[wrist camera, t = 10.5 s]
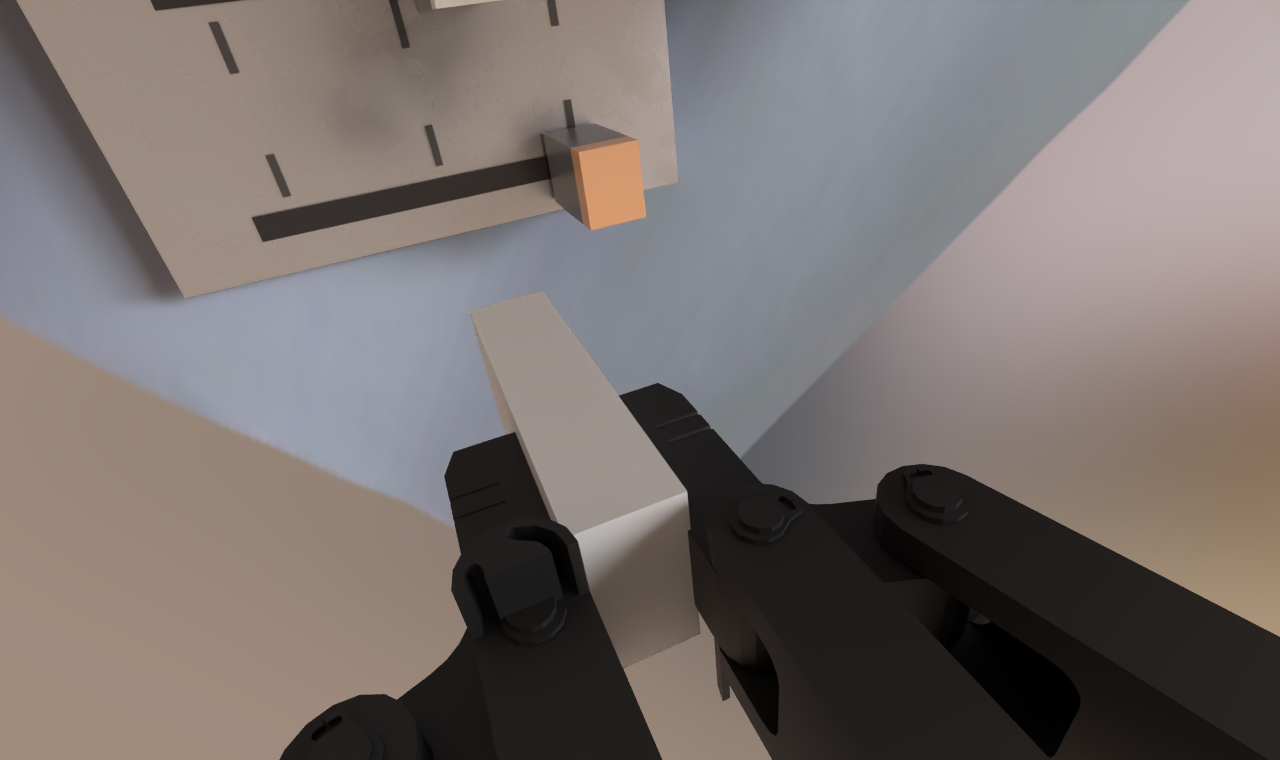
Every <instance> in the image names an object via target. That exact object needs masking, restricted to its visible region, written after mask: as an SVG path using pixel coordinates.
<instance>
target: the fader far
mask: <svg viewBox="0 0 1280 760" xmlns="http://www.w3.org/2000/svg"><path fill="white" fill-rule="evenodd" d="M543 137H544V143H545V148H546V153H547V159H548V164H549V169H550V175H551V180H552V185H553V191H554V196H555V201H556V202H557V203H558V204H559V205H560V206H561V207H563V208H564V209H565V210H566V211H568V212H569V213H570V214H571V215H572V216H574V217H575V218H576V219H577V220H579V221H580V222H581V223H582V224H583V225H585V226H586V227H587V228H588V229H590V230H591V231H592V230H596V229H600V228H604V227H608V226H612V225H616V224H620V223H624V222H628V221H632V220H636V219H640V218H644V217H646V210H645V201H644V192H643V183H642V173H641V164H640V155H639V146H638V140H637V139H634V138H632V137H629V136H627V135H624V134H621V133H619V132H616V131H613V130H611V129H608V128H606V127H603V126H600V125H598V124H595V123H592V124H587V125H582V126H577V127H572V128H567V129H562V130H557V131H552V132H547V133H543Z"/></svg>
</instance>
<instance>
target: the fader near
mask: <svg viewBox="0 0 1280 760" xmlns="http://www.w3.org/2000/svg"><path fill="white" fill-rule="evenodd" d="M416 1H417V4H418V8H419V12H422V11H429V10H437V9H444V8H452V7H459V6H467V5H474V4H482V3H488V2H495V1H501V0H416Z"/></svg>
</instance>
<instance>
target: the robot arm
mask: <svg viewBox="0 0 1280 760" xmlns="http://www.w3.org/2000/svg"><path fill="white" fill-rule="evenodd" d="M469 312H470V316H471V319H472V322H473V326H474V329H475V333H476V336H477V339H478V343H479V346H480V350H481V353H482V357H483V360H484V363H485V367H486V370H487V374H488V377H489V380H490V384H491V387H492V391H493V394H494V397H495V401H496V404H497V408H498V411H499V414H500V418H501V421H502V424H503V427H504V429H505V432H506V434H507V435H504V436H501V437H498V438H495V439H492V440H488V441H485V442H482V443H479V444H476V445H473V446H470V447H467V448H464V449H461V450H458V451H455V452H453V455H452V457H451V460H450V463H449V465H448V468H447V471H446V473H445V476H444V477H445V481H446V486H447V491H448V495H449V500H450V503H451V504H450V505H451V509H452V514H453V519H454V522H455V528H456V532H457V537H458V541H459V547H460V551H461V556H460V558H459V560H458V561H457V563H456V565H455V567H454V569H453V574H452V588H451V591H452V593H453V595H454V598H455V600H456V602H457V605H458V607H459V609H460V612H461V614H462V616H463V619H464V621H465V623H466V626H467V629H466V632H465V633H464V636H463V637H462V639H461V641H460V643H459V645H458V646H457V647H456V649H455V650H454V651H453V653H452V654H451V655H450V656H449V658H448V659H447V660H446V661H445V662H444V663H443V664H442V665H440V666H439V667H438V668H437V669H436V670H435V671H434V672H433V673H432V674H430V675H429V676H428V677H426V678H425V679H424V680H422V681H421V682H420V683H418V684H417V685H416V686H415V687H413V688H412V689H411V690H409V691H408V692H407V693H405V694H404V695H403V696H401V697H400V698H399V699H397V700H396V699H393V698H392V697H389V696H387V695H385V694H380V695H379V694H376V695H358V696H356V697H353V698H351V699H348V700H345V701H343V702H340V703H338V704H335V705H333V706H331V707H330V708H329V709H327V710H326V711H324V712H323V713H322V714H320V715H319V716H317V717H316V718H315V719H313V720H312V721H311V722H309V723H308V724H307V725H306V726H305V727H304V728H303V729H302V730H301V731H300V733H299V734H298V735H297V736H296V738H295V739H294V740H293V741H292V742H291V743H290V744H289V746H288V747H287V748H286V749H285V750H284V752H283V754H282V756H281V758H280V760H662V758H661V756H660V754H659V751H658V749H657V747H656V744H655V742H654V740H653V737H652V735H651V733H650V730H649V728H648V726H647V723H646V721H645V719H644V716H643V714H642V712H641V709H640V707H639V705H638V703H637V700H636V698H635V695H634V693H633V691H632V688H631V686H630V684H629V681H628V679H627V677H626V674H625V672H624V670H623V669H624V668H626V667H628V666H630V665H632V664H634V663H637V662H639V661H641V660H643V659H646V658H648V657H650V656H652V655H654V654H656V653H659V652H661V651H663V650H665V649H667V648H670V647H672V646H674V645H676V644H678V643H681V642H683V641H685V640H687V639H689V638H692V637H694V636H696V635H698V634H700V624H699V613H698V611H699V612H700V614H701V616H702V617H703V619H704V621H705V623H706V624H707V626H708V628H709V629H710V631H711V633H712V634H713V636H714V641H715V655H716V668H717V682H718V687H719V691H720V694H721V696H722V700H723V701H724V700H726V699H728V698H730V689H729V685H730V686H731V688H732V690H733V692H734V693H735V695H736V697H737V699H738V700H739V702H740V704H741V706H742V707H743V709H744V711H745V713H746V714H747V716H748V718H749V720H750V721H751V723H752V725H753V726H754V728H755V730H756V732H757V733H758V735H759V737H760V739H761V741H762V742H763V744H764V746H765V748H766V749H767V751H768V753H769V755H770V756H771V758H772V760H1280V637H1279V636H1277V635H1275V634H1273V633H1271V632H1269V631H1267V630H1265V629H1263V628H1261V627H1259V626H1257V625H1255V624H1254V623H1251V622H1250V621H1248V620H1246V619H1244V618H1242V617H1240V616H1238V615H1236V614H1234V613H1232V612H1230V611H1228V610H1227V609H1225V608H1223V607H1221V606H1219V605H1217V604H1215V603H1213V602H1211V601H1209V600H1207V599H1205V598H1203V597H1201V596H1199V595H1197V594H1195V593H1194V592H1191V591H1190V590H1188V589H1186V588H1184V587H1182V586H1180V585H1178V584H1176V583H1174V582H1172V581H1170V580H1168V579H1166V578H1164V577H1162V576H1161V575H1159V574H1157V573H1155V572H1153V571H1151V570H1149V569H1147V568H1145V567H1143V566H1141V565H1139V564H1137V563H1135V562H1133V561H1132V560H1130V559H1128V558H1126V557H1124V556H1122V555H1120V554H1118V553H1116V552H1114V551H1112V550H1110V549H1108V548H1106V547H1104V546H1102V545H1100V544H1099V543H1097V542H1095V541H1093V540H1091V539H1089V538H1087V537H1085V536H1083V535H1081V534H1079V533H1077V532H1075V531H1073V530H1071V529H1070V528H1067V527H1066V526H1064V525H1062V524H1060V523H1058V522H1056V521H1054V520H1052V519H1050V518H1048V517H1046V516H1044V515H1042V514H1040V513H1038V512H1037V511H1034V510H1033V509H1031V508H1029V507H1027V506H1025V505H1023V504H1021V503H1019V502H1017V501H1015V500H1013V499H1011V498H1009V497H1007V496H1005V495H1004V494H1001V493H1000V492H998V491H996V490H994V489H992V488H990V487H988V486H986V485H984V484H982V483H980V482H978V481H976V480H974V479H973V478H971V477H969V476H967V475H964V474H962V473H959V472H956V471H954V470H951V469H948V468H946V467H941V466H933V465H926V464H918V465H909V466H902V467H900V468H898V469H895V470H893V471H891V472H889V473H887V474H886V475H885V476H884V478H883V479H882V480H881V482H880V483H879V484H878V487H877V494H876V499H872V500H863V501H854V502H845V503H837V504H808V503H807V502H805V500H803V499H802V498H800V497H799V496H798V495H796V494H795V493H794V492H792V491H790V490H787V489H784V488H781V487H778V486H775V485H770V484H769V485H768V484H762V483H761V482H760V481H759V480H758V479H757V478H756V476H755V475H754V474H753V473H752V472H751V471H750V470H749V469H748V468H747V466H745V464H744V463H743V462H742V461H741V460H740V459H739V457H738V456H737V455H736V454H735V453H734V452H733V451H732V450H731V449H730V447H729V446H728V445H727V444H726V443H725V442H724V441H723V440H722V438H721V437H720V436H719V435H718V434H717V433H716V432H715V431H714V429H711V428H710V425H709V424H708V423H707V422H706V421H705V419H704V418H703V417H702V416H701V415H698V413H697V410H696V409H695V408H694V407H693V406H692V405H691V404H690V403H689V401H688V400H687V399H686V398H685V397H684V396H683V395H682V394H681V393H678V392H676V391H674V390H672V389H670V388H668V387H665V386H663V385H661V384H659V383H656V384H653V385H650V386H647V387H644V388H641V389H638V390H635V391H632V392H629V393H626V394H623V395H620V396H618V395H617V393H616V392H615V390H614V389H613V388H612V386H611V385H610V383H609V382H608V381H607V379H606V378H605V377H604V375H603V374H602V372H601V371H600V370H599V368H598V367H597V365H596V364H595V363H594V361H593V360H592V359H591V357H590V356H589V354H588V353H587V352H586V350H585V349H584V347H583V346H582V345H581V343H580V342H579V340H578V339H577V338H576V336H575V335H574V334H573V332H572V331H571V329H570V328H569V327H568V325H567V324H566V322H565V321H564V320H563V318H562V317H561V316H560V314H559V313H558V311H557V310H556V309H555V307H554V306H553V304H552V303H551V302H550V300H549V299H548V297H547V296H546V295H545V293H544V292H543V291H541V292H537V293H533V294H529V295H526V296H522V297H518V298H514V299H511V300H507V301H503V302H499V303H496V304H492V305H488V306H484V307H481V308H477V309H473V310H469Z"/></svg>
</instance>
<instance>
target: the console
mask: <svg viewBox="0 0 1280 760" xmlns="http://www.w3.org/2000/svg"><path fill="white" fill-rule="evenodd" d="M16 1H17V2H18V4H19V6H20V8H21V9H22V11H23V13H24V15H25V17H26V18H27V20H28V22H29V24H30V25H31V27H32V29H33V31H34V32H35V34H36V36H37V38H38V40H39V41H40V43H41V45H42V47H43V48H44V50H45V52H46V54H47V55H48V57H49V59H50V61H51V62H52V64H53V66H54V68H55V70H56V71H57V73H58V75H59V77H60V78H61V80H62V82H63V84H64V85H65V87H66V89H67V91H68V93H69V94H70V96H71V98H72V100H73V101H74V103H75V105H76V107H77V108H78V110H79V112H80V114H81V115H82V117H83V119H84V121H85V123H86V124H87V126H88V128H89V130H90V131H91V133H92V135H93V137H94V138H95V140H96V142H97V144H98V146H99V147H100V149H101V151H102V153H103V154H104V156H105V158H106V160H107V161H108V163H109V165H110V167H111V168H112V170H113V172H114V174H115V176H116V177H117V179H118V181H119V183H120V184H121V186H122V188H123V190H124V191H125V193H126V195H127V197H128V199H129V200H130V202H131V204H132V206H133V207H134V209H135V211H136V213H137V214H138V216H139V218H140V220H141V221H142V223H143V225H144V227H145V229H146V230H147V232H148V234H149V236H150V237H151V239H152V241H153V243H154V244H155V246H156V248H157V250H158V252H159V253H160V255H161V257H162V259H163V260H164V262H165V264H166V266H167V267H168V269H169V271H170V273H171V275H172V276H173V278H174V280H175V282H176V283H177V285H178V287H179V289H180V290H181V292H182V294H183V296H184V297H185V298H188V297H193V296H197V295H201V294H205V293H210V292H214V291H218V290H222V289H227V288H231V287H235V286H239V285H243V284H248V283H252V282H256V281H260V280H265V279H269V278H273V277H277V276H282V275H286V274H290V273H294V272H299V271H303V270H307V269H311V268H316V267H320V266H324V265H328V264H333V263H337V262H341V261H345V260H350V259H354V258H358V257H362V256H366V255H371V254H375V253H379V252H383V251H388V250H392V249H396V248H400V247H405V246H409V245H413V244H417V243H422V242H426V241H430V240H434V239H439V238H443V237H447V236H451V235H456V234H460V233H464V232H468V231H473V230H477V229H481V228H485V227H489V226H494V225H498V224H502V223H506V222H511V221H515V220H519V219H523V218H528V217H532V216H536V215H540V214H545V213H549V212H553V211H557V210H562V209H564V208H563V207H561V206H560V205H559V204H558V203H557V202H556V201H555V196H554V191H553V185H552V180H551V175H550V169H549V164H548V159H547V153H546V148H545V143H544V137H543V133H547V132H552V131H557V130H562V129H567V128H572V127H577V126H582V125H587V124H592V123H595V124H598V125H600V126H603V127H606V128H608V129H611V130H613V131H616V132H619V133H621V134H624V135H627V136H629V137H632V138H634V139H637V140H638V146H639V155H640V164H641V173H642V183H643V190H646V189H651V188H655V187H659V186H663V185H668V184H672V183H676V182H678V172H677V159H676V146H675V133H674V120H673V107H672V95H671V82H670V69H669V56H668V43H667V30H666V17H665V5H664V0H501V1H495V2H488V3H482V4H474V5H467V6H459V7H452V8H444V9H437V10H429V11H422V12H419V8H418V4H417V1H416V0H16Z"/></svg>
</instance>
